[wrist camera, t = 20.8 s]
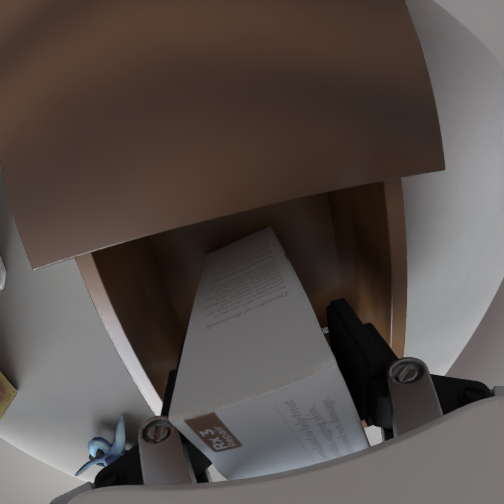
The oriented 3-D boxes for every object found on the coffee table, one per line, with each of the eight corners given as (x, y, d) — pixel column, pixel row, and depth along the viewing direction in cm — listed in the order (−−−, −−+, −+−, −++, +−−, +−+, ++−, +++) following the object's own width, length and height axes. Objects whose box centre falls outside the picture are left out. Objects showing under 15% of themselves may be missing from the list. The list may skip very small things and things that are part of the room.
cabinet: (343, 157, 18) (446, 170, 8) (119, 211, 18) (32, 271, 8) (285, -42, 13) (322, -131, 3) (81, 9, 13) (6, -52, 3)
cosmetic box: (308, 305, 19) (389, 465, 7) (244, 334, 19) (268, 509, 8) (268, 218, 17) (357, 354, 5) (197, 253, 17) (160, 428, 6)
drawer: (360, 377, 23) (398, 449, 15) (207, 414, 23) (205, 495, 15) (334, 134, 17) (413, 128, 9) (116, 188, 17) (42, 219, 9)
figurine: (173, 423, 26) (181, 491, 19) (148, 461, 30) (153, 513, 23) (79, 403, 22) (73, 475, 15) (77, 448, 26) (75, 501, 19)
